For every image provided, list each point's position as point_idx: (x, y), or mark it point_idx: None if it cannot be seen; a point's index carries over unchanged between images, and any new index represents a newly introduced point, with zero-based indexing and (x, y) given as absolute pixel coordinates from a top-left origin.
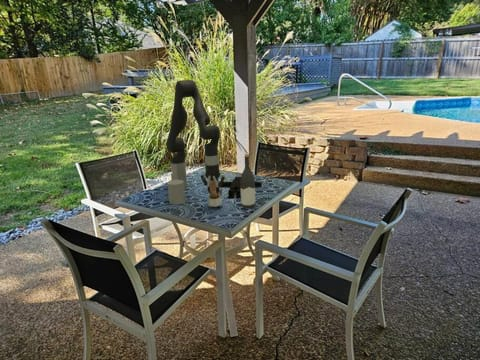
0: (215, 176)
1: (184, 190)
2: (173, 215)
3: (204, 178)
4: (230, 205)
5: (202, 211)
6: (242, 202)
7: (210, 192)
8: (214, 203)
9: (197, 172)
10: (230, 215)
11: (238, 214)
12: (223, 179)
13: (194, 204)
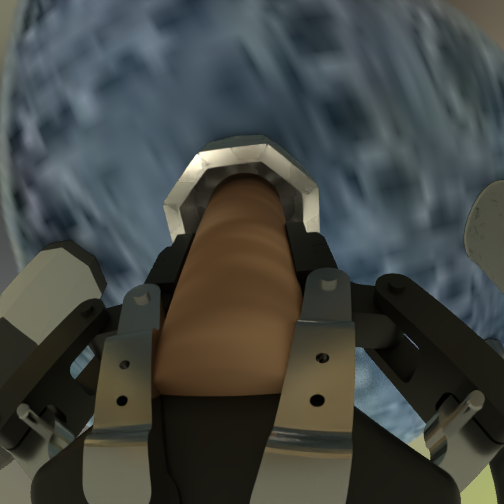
0: (103, 488)
1: (502, 280)
2: (458, 22)
3: (447, 398)
4: (154, 245)
5: (310, 87)
6: (70, 263)
7: (275, 218)
8: (212, 143)
9: (415, 434)
10: (78, 100)
11: (48, 137)
12: (6, 389)
13: (411, 200)
